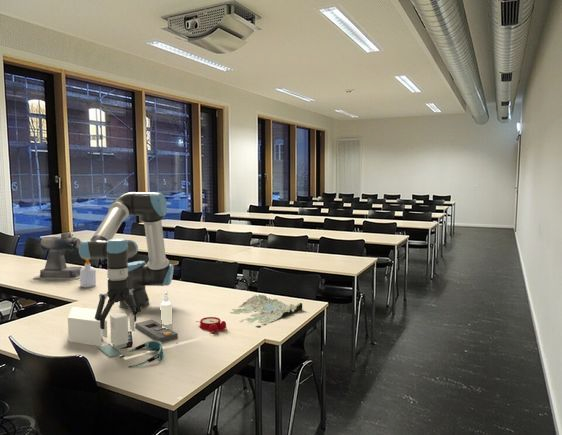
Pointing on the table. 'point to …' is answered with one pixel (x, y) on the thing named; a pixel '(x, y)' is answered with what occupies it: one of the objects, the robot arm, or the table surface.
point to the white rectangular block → (84, 326)
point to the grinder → (59, 258)
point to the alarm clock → (212, 324)
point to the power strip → (156, 331)
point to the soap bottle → (87, 275)
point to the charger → (119, 330)
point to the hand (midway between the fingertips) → (118, 333)
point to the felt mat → (109, 350)
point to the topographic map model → (266, 309)
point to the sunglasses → (151, 344)
